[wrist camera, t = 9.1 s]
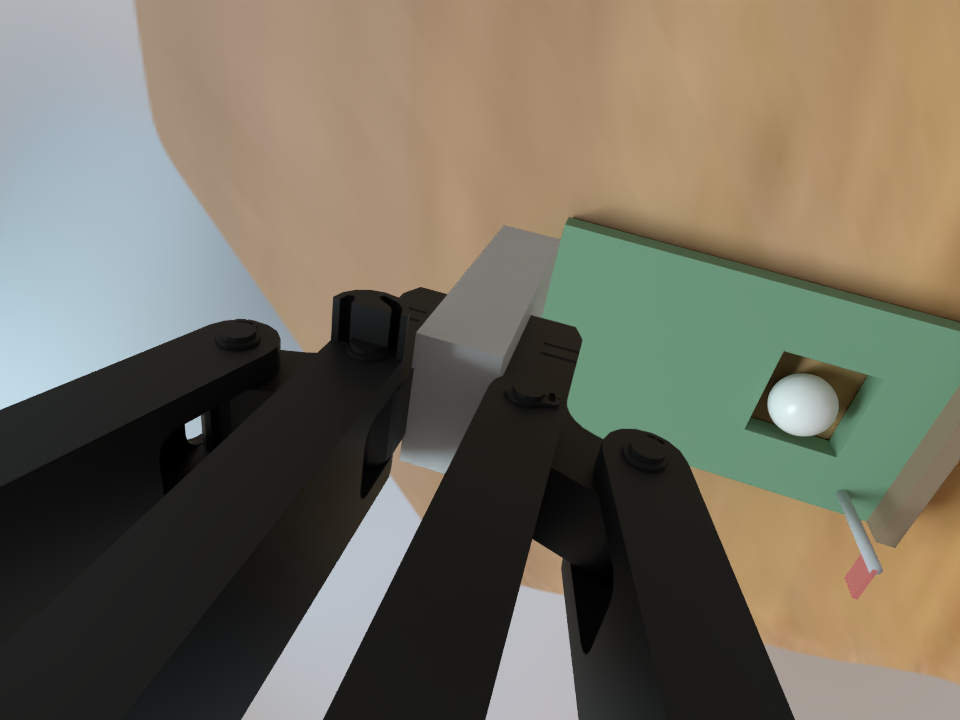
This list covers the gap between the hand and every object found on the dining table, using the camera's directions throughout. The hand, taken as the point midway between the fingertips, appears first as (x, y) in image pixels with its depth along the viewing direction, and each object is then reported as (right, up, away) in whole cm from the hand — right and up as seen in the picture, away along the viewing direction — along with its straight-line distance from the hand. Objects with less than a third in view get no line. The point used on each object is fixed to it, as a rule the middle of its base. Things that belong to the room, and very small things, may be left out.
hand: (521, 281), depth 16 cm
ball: (+19, -5, +23) cm, 30 cm away
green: (+16, -3, +25) cm, 30 cm away
